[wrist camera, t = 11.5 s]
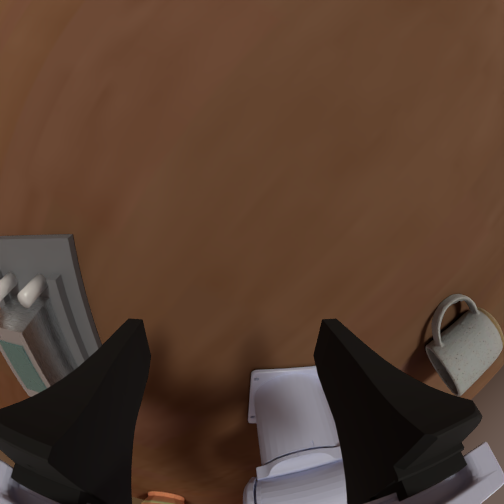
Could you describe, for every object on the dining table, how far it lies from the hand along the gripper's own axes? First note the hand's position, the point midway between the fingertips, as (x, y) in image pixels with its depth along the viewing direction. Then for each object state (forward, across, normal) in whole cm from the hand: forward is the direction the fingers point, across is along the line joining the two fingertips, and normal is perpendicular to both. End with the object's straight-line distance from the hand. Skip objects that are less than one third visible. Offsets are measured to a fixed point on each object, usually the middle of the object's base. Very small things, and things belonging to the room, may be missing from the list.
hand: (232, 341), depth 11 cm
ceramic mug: (+10, -25, +10) cm, 28 cm away
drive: (+9, +18, +9) cm, 22 cm away
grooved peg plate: (+9, +18, +9) cm, 22 cm away
